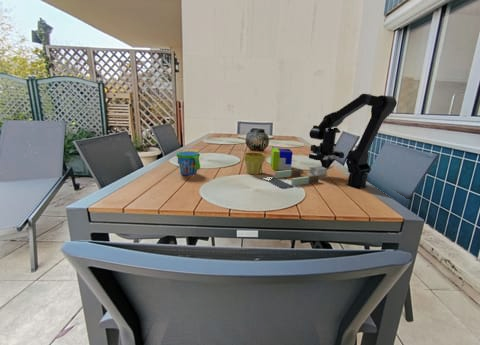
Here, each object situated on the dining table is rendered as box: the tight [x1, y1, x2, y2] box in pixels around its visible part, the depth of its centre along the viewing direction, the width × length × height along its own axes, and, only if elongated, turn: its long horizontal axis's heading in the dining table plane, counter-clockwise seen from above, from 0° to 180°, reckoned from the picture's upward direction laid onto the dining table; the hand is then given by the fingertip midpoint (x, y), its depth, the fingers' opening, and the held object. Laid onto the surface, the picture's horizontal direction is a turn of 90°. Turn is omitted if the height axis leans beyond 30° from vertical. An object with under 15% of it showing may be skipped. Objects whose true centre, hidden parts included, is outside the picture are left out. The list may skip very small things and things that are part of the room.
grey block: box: [308, 165, 328, 180], centre depth 122 cm, size 6×6×5 cm
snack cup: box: [176, 150, 201, 176], centre depth 118 cm, size 16×10×10 cm
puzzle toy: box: [270, 147, 293, 171], centre depth 137 cm, size 10×10×10 cm
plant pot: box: [243, 151, 266, 175], centre depth 124 cm, size 10×10×10 cm
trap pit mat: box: [266, 176, 294, 189], centre depth 111 cm, size 16×6×1 cm, turn 28°
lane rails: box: [274, 168, 320, 186], centre depth 116 cm, size 13×15×3 cm
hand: (324, 172), depth 124 cm, fingers closed
